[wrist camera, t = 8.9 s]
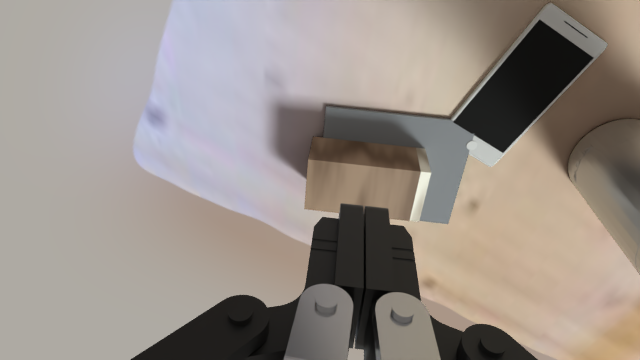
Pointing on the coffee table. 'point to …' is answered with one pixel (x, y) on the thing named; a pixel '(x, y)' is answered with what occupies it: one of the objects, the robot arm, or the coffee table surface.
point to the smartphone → (526, 82)
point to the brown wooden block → (367, 177)
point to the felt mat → (411, 131)
